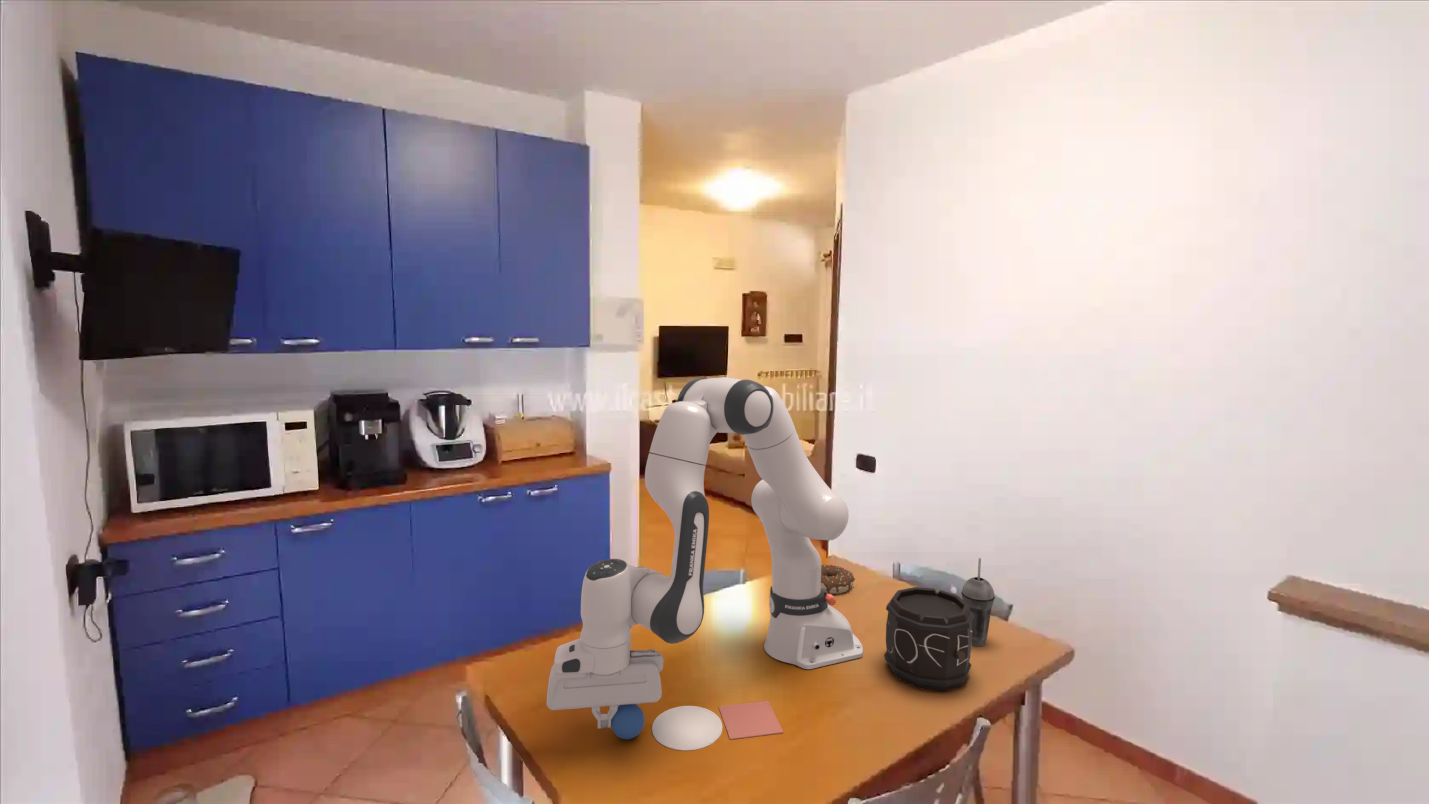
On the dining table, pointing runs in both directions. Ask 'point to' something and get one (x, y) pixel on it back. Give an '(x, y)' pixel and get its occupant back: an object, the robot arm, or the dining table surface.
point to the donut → (836, 579)
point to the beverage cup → (979, 606)
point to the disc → (687, 728)
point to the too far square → (750, 720)
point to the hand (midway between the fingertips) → (604, 726)
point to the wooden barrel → (929, 638)
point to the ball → (628, 721)
